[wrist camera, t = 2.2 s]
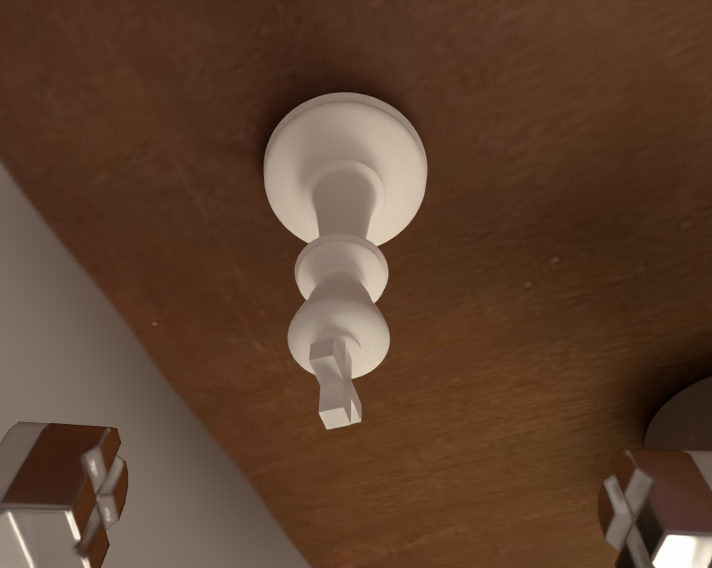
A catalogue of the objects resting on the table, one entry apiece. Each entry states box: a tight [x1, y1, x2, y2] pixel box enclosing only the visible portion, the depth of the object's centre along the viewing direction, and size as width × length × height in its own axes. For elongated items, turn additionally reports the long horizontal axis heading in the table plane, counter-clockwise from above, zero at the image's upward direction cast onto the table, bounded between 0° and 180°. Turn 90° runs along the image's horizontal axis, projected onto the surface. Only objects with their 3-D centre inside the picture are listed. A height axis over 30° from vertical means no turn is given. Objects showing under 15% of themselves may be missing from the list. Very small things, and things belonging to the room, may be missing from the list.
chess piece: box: [264, 92, 427, 430], centre depth 15 cm, size 5×5×10 cm
